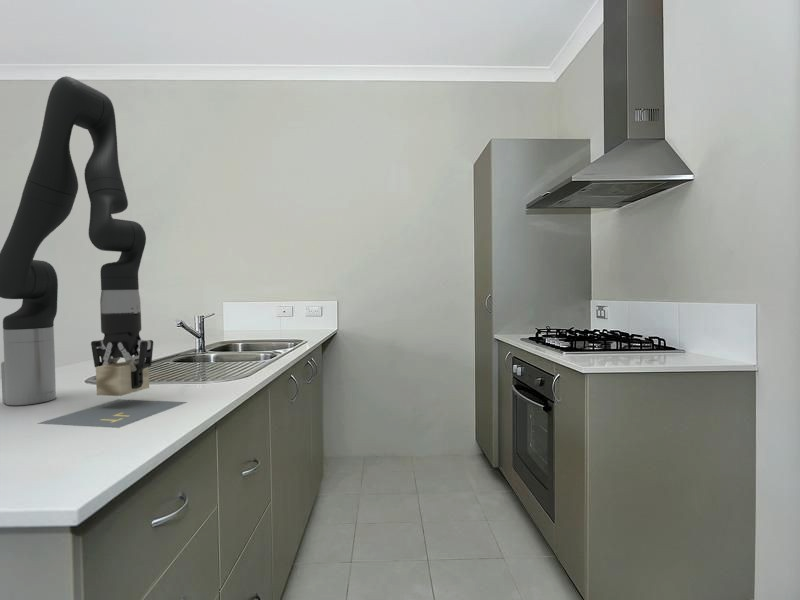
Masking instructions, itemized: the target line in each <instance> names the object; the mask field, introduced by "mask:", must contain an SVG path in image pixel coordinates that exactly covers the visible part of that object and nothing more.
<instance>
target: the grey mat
mask: <svg viewBox="0 0 800 600" xmlns="http://www.w3.org/2000/svg"><path fill="white" fill-rule="evenodd" d="M186 403H188V401H173V400H172V401H168V400H167V401H166V400H147V399H146V400H145V399H141V400H140V399H119V398H118V399H115V400H112V401H108V402H105V403H102V404H99V405H95V406H91V407H88V408H84V409H81V410H78V411H75V412H71V413H68V414H64V415H61V416H58V417H53V418H51V419H46V420H44V421H41V422H38V423H37V424H41V425H56V426H57V425H58V426H60V425H61V426H74V427H91V428H92V427H95V428H112V429H113V428H116V429H120V428H122V427H125V426H127V425H130V424H133V423H135V422H139V421H141V420H144V419H146V418H149V417H152V416H155V415H157V414H159V413H162V412H166V411H168V410H170V409H173V408H176V407H179V406H181V405H184V404H186Z"/></svg>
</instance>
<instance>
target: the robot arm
mask: <svg viewBox="0 0 800 600" xmlns="http://www.w3.org/2000/svg"><path fill="white" fill-rule="evenodd" d="M116 120H117V119H116V113H115V108H114V105H113V102H112V100H111V99H110V97H109V96H108V95H106V94H105V93H103V92H101V91H100V90H98V89H95V88H93V87H92V86H90V85H89V84H86V83H84V82H83V81H80V80H79V79H75V78H74V77H71V76H62V77H61V76H60V78H58V79H57V80H56V81H55V82H54V83H53V85H52V87H51V89H50V90H49V94H48V98H47V102H46V107H45V111H44V117H43V122H42V127H41V131H40V137H39V140H38V146H37V148H36V151H35V155H34V158H33V161H32V163H31V164H32V165H31V166H30V170H29V172H28V175H27V176H26V177H27V178H26V181H25V184H24V187H23V190H22V193H21V198H20V201H19V206H18V207H17V210H16V211H17V212H16V214H15V217H14V219H13V222H12V225H11V228H10V230H9V233H8V235H7V237H6V239H5V242H4V244H3V246H2V247H1V250H0V298H1V299H5V300H6V299H7V300H22V303H21V306H20V307H19V308H18V309H17V310H15V311H14V312H12V313H10V314H8V315H6V316H4V317H3V319H2V334H3V335H2V340H3V361H2V362H1V364H0V369H1V371H0V373H1V396H2V397H1V400H2V401H1V403H2V404H5V405H6V406H26V405H27V406H28V405H34V404H41V403H45V402H48V401H49V402H50V401H53V400H55V399H56V398H57V391H56V390H57V388H56V387H57V385H56V382H57V381H56V357H55V356H56V355H55V329H54V328H55V327H54V326H55V325H54V324H55V323H54V321H55V318H56V316H57V312H58V297H59V296H58V290H59V288H58V287H59V284H58V283H59V282H58V281H59V279H58V274H57V272H56V271H57V270H55V268H54V266H53V265H52V264H51V263H49V262H48V261H44V260H39V259H38V260H37V259H34V258H35V255H36V253H37V251H38V249H39V247H40V246H41V244H42V242H43V241H44V240H45V239H46V238H47V237H48V236H50V235H51V233H53V232H54V231H55V230H56V229H57V228H58V227H60V225H61V224H63V223H64V222H65V220H66V219H67V218H68V217H69V216H70V214H71V213H72V212H71V211H72V210H73V206H74V203H75V201H76V197H77V194H78V191H79V181H78V180H79V179H78V176H77V172H76V170H75V169H76V168H75V166H74V163H73V160H72V155H71V150H70V149H71V147H70V143H71V136H72V131H73V128H74V126H76V127H80V128H82V129H84V130H87V131H88V133H89V135H90V138H91V140H92V145H93V148H92V152H91V153H90V154H91V155H90V157H89V158H88V160H87V162H86V164H85V168H84V173H83V174H84V181H85V182H84V183H85V185H86V186H85V187H86V190H87V195H88V199H89V203H90V211H89V212H90V213H89V225H88V239H89V240H90V243H91V244H92V245H93V247H95V248H96V249H98V250H100V251H106V252H116V253H118V252H119V253H120V255H119V258H118V260H117V261H113V262H107V263H105V264H103V265H101V267H100V299H99V303H100V305H99V307H100V332H101V333H102V334H103V339H99V340H92V341H91V342H90V345H91V347H90V348H91V353H92V359H93V365H94V368H96V367H98V366H103V365H109V364H113V363H118V362H119V361H120V360H121V358H122V359H124V361H126V362H127V363H129V365H130V368H131V370H132V371H133V372H131V387H132V389H136V388H140V387H141V386H142V384H143V369H145V368H147V367H149V368H150V367H152V362H153V350H154V341H153V339H148V340H145V339H142V338H141V335H140V332H141V331H142V310H141V309H142V308H141V307H142V306H141V296H140V289H139V286H140V285H139V284H140V283H139V269H140V265H141V263H142V257H143V254H144V251H145V247H146V243H147V236H146V232H145V229H144V227H143V226H142V224H140V222H137V221H134V220H127V219H120V218H113V215H117V214H120V213H122V212H124V211H126V210H127V208H128V205H129V201H128V196H127V193H126V192H127V191H126V190H125V186H124V182H123V181H124V180H123V178H122V174H121V169H120V162H119V152H118V138H117V137H118V135H117V134H118V133H117V123H116ZM135 362H136V363H135ZM136 364H137V365H136Z"/></svg>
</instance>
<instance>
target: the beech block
mask: <svg viewBox="0 0 800 600" xmlns="http://www.w3.org/2000/svg"><path fill="white" fill-rule="evenodd" d="M135 363H136V362H135ZM136 365H137V364H136ZM149 368H150V367H147V368H145V369H143V384H142V386H141V387H140V388H136V389H132V387H131V372H133V371H132V370H131V368H130V365H129V363H127V362H126V361H125V360H124V361H117V363H113V364H109V365H103V366H98V367H95V380H96V381H95V383H96V384H95V385H96V396H110V397H111V396H112V397H113V396H114V397H123V396H126V395H129V394H132V393H137V392H139V391H142V390H143V391H144V390H147V389H149V388H150V375H149V374H150V373H149V372H150V369H149Z"/></svg>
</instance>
